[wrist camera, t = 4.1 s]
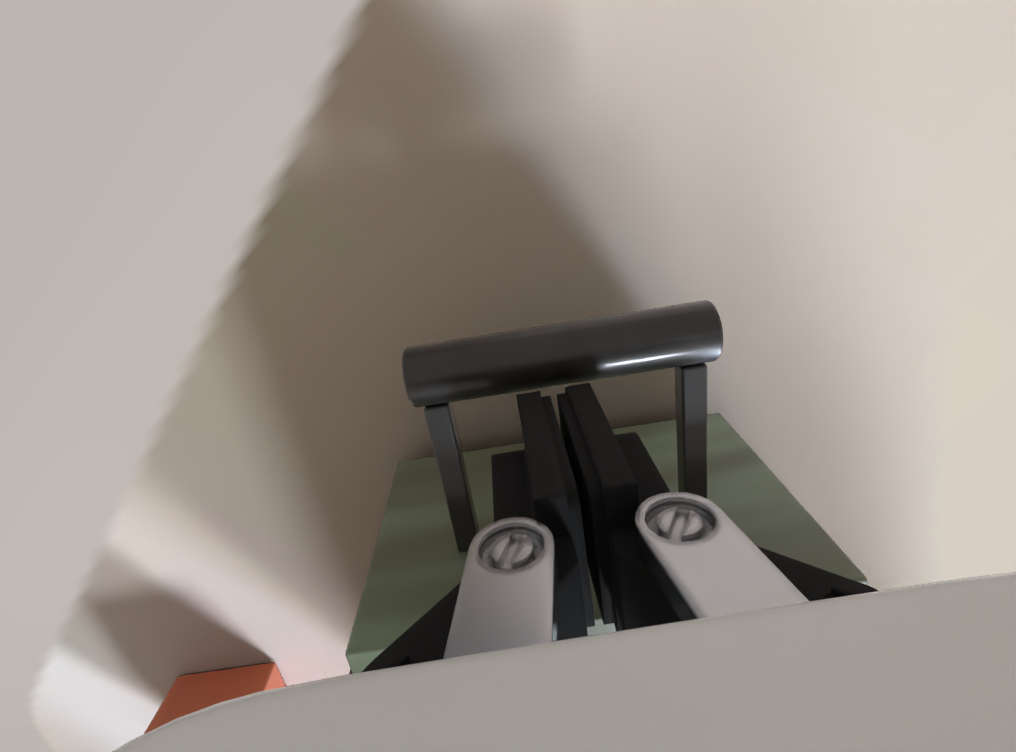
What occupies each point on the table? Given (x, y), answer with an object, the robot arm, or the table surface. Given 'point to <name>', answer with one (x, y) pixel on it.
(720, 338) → the drawer
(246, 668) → the block
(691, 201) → the table surface
